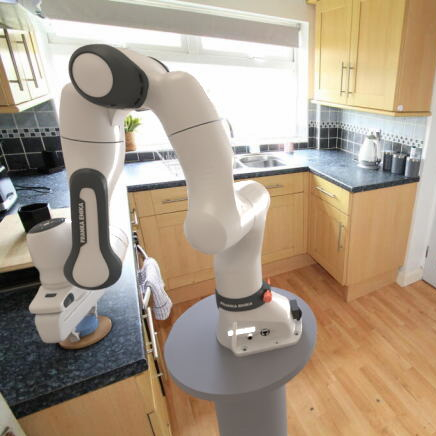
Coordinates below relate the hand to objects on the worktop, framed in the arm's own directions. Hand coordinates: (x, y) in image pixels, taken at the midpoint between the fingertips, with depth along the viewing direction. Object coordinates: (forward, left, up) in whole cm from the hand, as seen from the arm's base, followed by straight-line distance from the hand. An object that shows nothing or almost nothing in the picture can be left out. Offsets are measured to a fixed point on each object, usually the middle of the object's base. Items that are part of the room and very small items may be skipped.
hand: (85, 329), depth 81 cm
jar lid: (0, 0, +1) cm, 2 cm away
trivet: (0, 0, -1) cm, 1 cm away
